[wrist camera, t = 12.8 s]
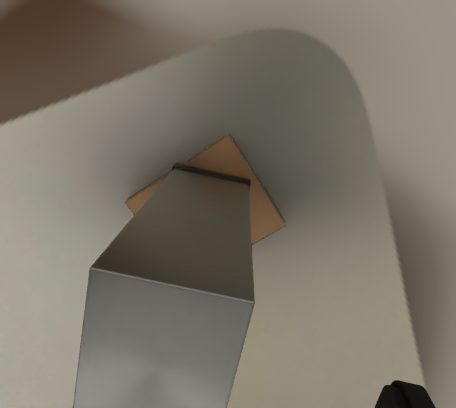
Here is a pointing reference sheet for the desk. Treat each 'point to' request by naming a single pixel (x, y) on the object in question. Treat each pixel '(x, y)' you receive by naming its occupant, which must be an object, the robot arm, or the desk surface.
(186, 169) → the brushed metal pillar
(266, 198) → the cork mat
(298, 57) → the desk surface
